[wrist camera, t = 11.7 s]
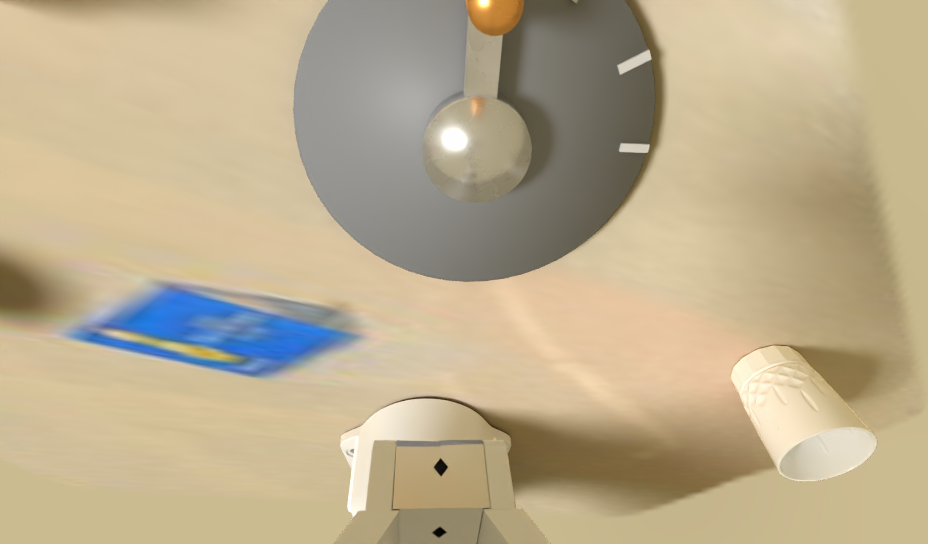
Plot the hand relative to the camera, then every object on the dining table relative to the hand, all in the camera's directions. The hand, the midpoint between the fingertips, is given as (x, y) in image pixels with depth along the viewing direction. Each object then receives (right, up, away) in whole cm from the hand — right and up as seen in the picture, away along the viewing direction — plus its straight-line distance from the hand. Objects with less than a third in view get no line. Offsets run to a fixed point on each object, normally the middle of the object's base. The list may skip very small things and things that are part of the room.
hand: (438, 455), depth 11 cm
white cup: (+31, -5, +38) cm, 49 cm away
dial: (+2, +16, +19) cm, 25 cm away
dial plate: (+1, +14, +23) cm, 27 cm away
